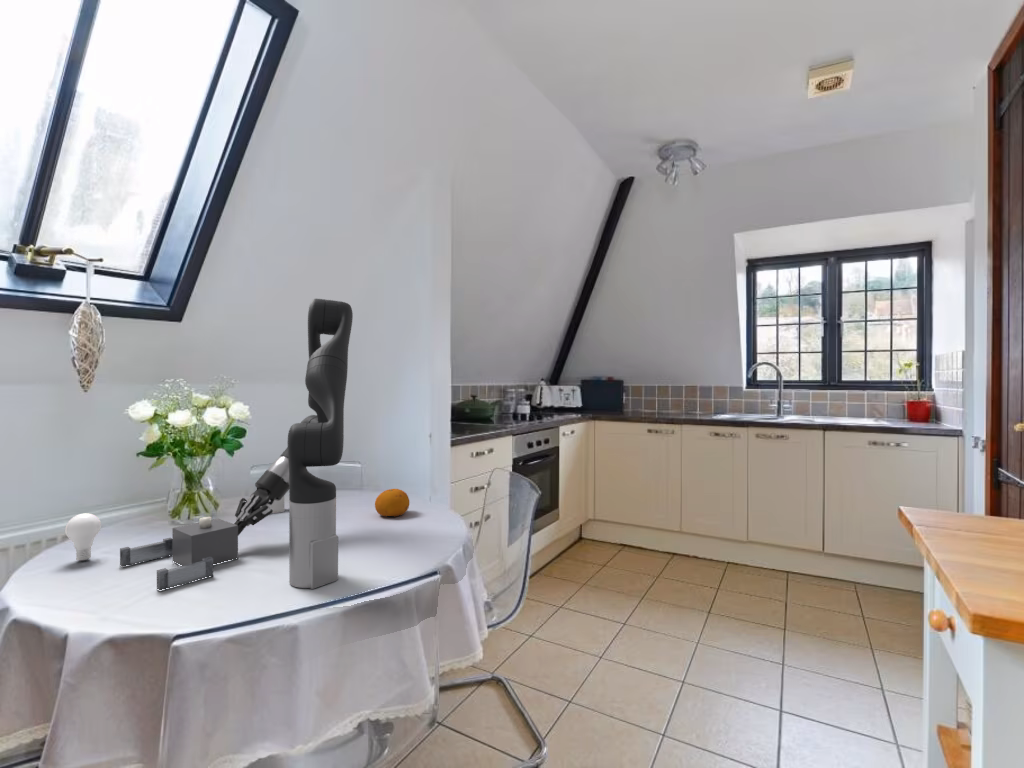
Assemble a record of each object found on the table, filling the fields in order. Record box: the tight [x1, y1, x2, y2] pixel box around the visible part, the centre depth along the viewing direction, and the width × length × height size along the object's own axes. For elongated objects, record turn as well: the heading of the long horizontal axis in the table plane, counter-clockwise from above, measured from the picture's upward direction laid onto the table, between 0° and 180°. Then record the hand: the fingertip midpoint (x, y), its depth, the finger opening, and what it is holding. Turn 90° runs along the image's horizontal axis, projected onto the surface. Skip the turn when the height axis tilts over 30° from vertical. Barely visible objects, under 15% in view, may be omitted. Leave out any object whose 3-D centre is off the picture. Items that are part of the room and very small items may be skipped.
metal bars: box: [119, 537, 214, 590], centre depth 113 cm, size 23×10×4 cm, turn 53°
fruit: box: [374, 488, 410, 517], centre depth 160 cm, size 10×10×8 cm
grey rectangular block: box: [270, 495, 285, 515], centre depth 163 cm, size 4×7×10 cm, turn 127°
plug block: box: [171, 516, 239, 566], centre depth 120 cm, size 10×10×10 cm
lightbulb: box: [64, 512, 102, 563], centre depth 119 cm, size 6×6×11 cm
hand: (230, 536), depth 124 cm, fingers closed
